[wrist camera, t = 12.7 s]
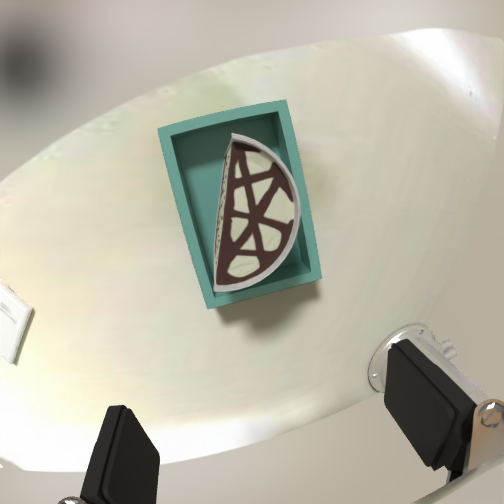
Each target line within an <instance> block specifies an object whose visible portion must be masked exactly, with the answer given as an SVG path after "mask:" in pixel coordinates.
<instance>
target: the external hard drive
mask: <svg viewBox="0 0 504 504" xmlns="http://www.w3.org/2000/svg"><path fill="white" fill-rule="evenodd" d="M32 309H33V307H32V306H31V305H29V304H28V303H27V302H26V301H25V300H24V299H23V298H21V297H20V296H19V295H18V294H17V293H14V292H13V291H12V290H11V289H10V288H9V286H8V285H7V284H6V283H5V282H4V281H3V280H2V279H1V278H0V355H1V356H2V357H3V358H4V359H5V360H6V361H8V362H9V363H11V364H12V363H13V362H14V360H15V357H16V354H17V351H18V348H19V345H20V342H21V339H22V336H23V333H24V330H25V328H26V325H27V322H28V320H29V317H30V314H31V312H32Z"/></svg>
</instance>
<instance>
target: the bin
mask: <svg viewBox="0 0 504 504" xmlns="http://www.w3.org/2000/svg"><path fill="white" fill-rule="evenodd" d="M157 130H158V134H159V138H160V142H161V147H162V151H163V155H164V159H165V163H166V167H167V171H168V175H169V179H170V183H171V187H172V190H173V194H174V198H175V202H176V205H177V209H178V213H179V216H180V220H181V223H182V227H183V231H184V234H185V237H186V241H187V244H188V248H189V251H190V255H191V258H192V261H193V265H194V268H195V271H196V274H197V278H198V281H199V284H200V287H201V290H202V294H203V297H204V300H205V303H206V306H207V309H211V308H215V307H219V306H223V305H227V304H231V303H235V302H238V301H242V300H246V299H250V298H253V297H257V296H261V295H265V294H268V293H272V292H276V291H279V290H283V289H286V288H290V287H294V286H297V285H301V284H304V283H308V282H311V281H314V280H318V279H321V278H322V275H321V269H320V262H319V256H318V250H317V244H316V238H315V233H314V227H313V222H312V216H311V211H310V205H309V200H308V195H307V190H306V185H305V180H304V175H303V171H302V166H301V161H300V156H299V152H298V147H297V143H296V139H295V134H294V130H293V126H292V121H291V117H290V113H289V109H288V105H287V101H286V100H279V101H273V102H267V103H262V104H256V105H251V106H246V107H241V108H236V109H231V110H226V111H222V112H218V113H213V114H209V115H205V116H201V117H197V118H193V119H189V120H186V121H182V122H178V123H175V124H171V125H168V126H164V127H161V128H158V129H157ZM231 133H234V134H239V135H244V136H246V137H249V138H252V139H254V140H256V141H258V142H260V143H261V144H263V145H265V146H266V147H268V148H269V149H270V150H271V151H273V152H274V153H275V154H276V155H277V156H278V157H279V158H280V159H281V161H282V162H283V163H284V164H285V165H286V167H287V169H288V170H289V172H290V174H291V175H292V177H293V179H294V182H295V184H296V187H297V190H298V194H299V198H300V207H301V217H300V226H299V230H298V234H297V237H296V240H295V242H294V245H293V247H292V249H291V250H290V252H289V254H288V255H287V257H286V258H285V260H284V261H283V262H282V263H281V264H280V266H279V267H278V268H277V269H276V270H274V271H273V272H272V273H271V274H270V275H269V276H267V277H265V278H264V279H262V280H261V281H259V282H257V283H255V284H253V285H251V286H249V287H245V288H242V289H239V290H233V291H226V292H214V289H213V286H214V237H215V228H216V219H217V210H218V202H219V193H220V185H221V177H222V169H223V162H224V155H225V153H226V151H227V148H228V146H229V143H230V141H231V139H232V136H231Z"/></svg>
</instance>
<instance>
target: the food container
mask: <svg viewBox="0 0 504 504" xmlns="http://www.w3.org/2000/svg"><path fill="white" fill-rule="evenodd" d="M231 136H232V139H231V141H230V143H229V146H228V148H227V151H226V153H225V155H224V162H223V169H222V177H221V185H220V193H219V202H218V210H217V219H216V228H215V237H214V286H213V289H214V292H226V291H233V290H239V289H242V288H245V287H249V286H251V285H253V284H255V283H257V282H259V281H261V280H262V279H264V278H265V277H267V276H269V275H270V274H271V273H272V272H273V271H274V270H276V269H277V268H278V267H279V266H280V264H281V263H282V262H283V261H284V260H285V258H286V257H287V255H288V254H289V252H290V250H291V249H292V247H293V245H294V242H295V240H296V237H297V234H298V230H299V226H300V217H301V207H300V198H299V194H298V190H297V187H296V184H295V182H294V179H293V177H292V175H291V174H290V172H289V170H288V169H287V167H286V165H285V164H284V163H283V162H282V161H281V159H280V158H279V157H278V156H277V155H276V154H275V153H274V152H273V151H271V150H270V149H269V148H268V147H266V146H265V145H263V144H261V143H260V142H258V141H256V140H254V139H252V138H249V137H246V136H244V135H239V134H234V133H231Z"/></svg>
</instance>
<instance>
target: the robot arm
mask: <svg viewBox="0 0 504 504" xmlns="http://www.w3.org/2000/svg"><path fill="white" fill-rule="evenodd" d="M452 345H453V342H452V340H451V339H448V340H446V341H444V342H443V343H441V344H440V343H437V342H436V340H435V336H434V334H433V333H432V332H431V331H430V330H429V329H428V328H427V327H425V326H423V325H410V326H407V327H404V328H402V329H400V330H398V331H397V332H395V333H394V334H392V335H391V336H390V337H389V338H387V339H386V341H385V342H384V343H382V345H381V346H380V347H379V348H378V350H377V351H376V353H375V355H374V356H373V358H372V360H371V363H370V366H369V370H368V377H369V381H370V383H371V385H372V386H373V387H374V389H376V390H377V391H379V392H382V393H385V395H384V402H385V406H386V408H387V409H388V411H389V412H390V413H391V415H392V417H393V418H394V419H395V421H396V422H397V424H398V425H399V427H400V428H401V430H402V431H403V433H404V434H405V435H406V437H407V439H408V440H409V441H410V443H411V444H412V446H413V447H414V449H415V450H416V452H417V453H418V455H419V456H420V458H421V459H422V460H423V462H424V464H425V465H426V466H427V467H429V466H431V467H432V469H433V470H434V471H435V470H437V469H439V468H441V467H442V466H445V467H446V468H447V470H448V476H447V480H446V484H445V485H444V486H443V487H441V488H440V489H438V490H436V491H434V492H432V493H430V494H428V495H427V496H425V497H423V498H421V499H419V500H417V501H415V502H413V503H411V504H504V402H503V401H500V400H497V399H490V398H489V397H487V396H486V395H485V394H484V393H483V392H482V391H481V390H480V389H479V388H478V387H477V386H476V385H475V384H474V383H473V382H472V381H471V380H470V379H468V377H466V376H465V375H464V374H463V373H462V372H461V371H460V370H459V369H458V368H457V367H456V366H454V365H453V364H452V363H451V362H450V361H449V360H450V359H452V358H454V357H455V356H456V355H457V351H456V349H455V348H454V347H453V346H452ZM451 346H452V347H451ZM449 347H450V348H449ZM445 349H446V350H445ZM444 350H445V351H444ZM443 351H444V352H443ZM159 465H160V456H159V453H158V451H157V449H156V448H155V446H154V445H153V443H152V442H151V440H150V439H149V437H148V436H147V434H146V433H145V431H144V430H143V428H142V426H141V425H140V423H139V422H138V420H137V418H136V417H135V415H134V413H133V412H132V410H131V409H130V408H128V409H127V407H126V406H125V405H117V406H109V407H108V409H107V412H106V415H105V418H104V421H103V424H102V427H101V430H100V433H99V436H98V439H97V442H96V443H95V446H94V449H93V452H92V455H91V459H90V462H89V465H88V469H87V472H86V476H85V479H84V483H83V487H82V490H81V494H80V498H78V497H67V498H64V499H62V500H61V501H59V503H58V504H156V497H157V485H158V474H159Z"/></svg>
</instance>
